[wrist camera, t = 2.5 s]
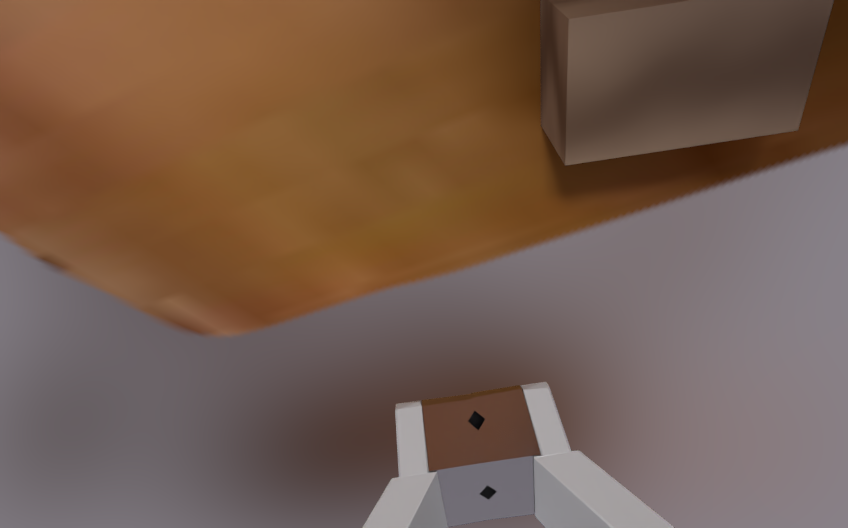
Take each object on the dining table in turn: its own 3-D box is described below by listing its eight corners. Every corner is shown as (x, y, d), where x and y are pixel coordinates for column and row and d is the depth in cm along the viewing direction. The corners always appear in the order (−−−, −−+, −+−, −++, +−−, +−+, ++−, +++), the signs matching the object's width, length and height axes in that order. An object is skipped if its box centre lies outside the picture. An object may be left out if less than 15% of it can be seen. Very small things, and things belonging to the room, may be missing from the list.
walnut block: (538, -8, 25) (568, 19, 21) (771, -44, 25) (840, -23, 21) (539, 123, 29) (565, 165, 25) (742, 92, 29) (798, 130, 25)
